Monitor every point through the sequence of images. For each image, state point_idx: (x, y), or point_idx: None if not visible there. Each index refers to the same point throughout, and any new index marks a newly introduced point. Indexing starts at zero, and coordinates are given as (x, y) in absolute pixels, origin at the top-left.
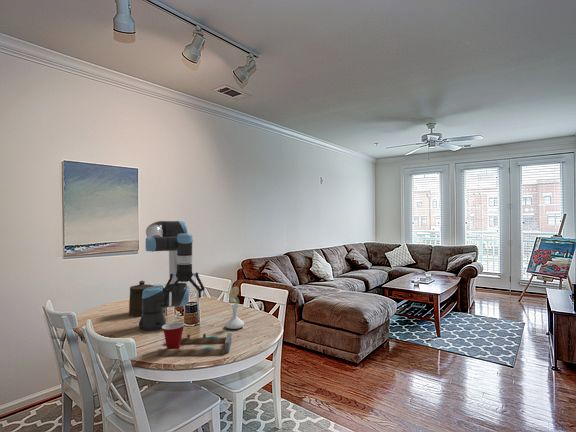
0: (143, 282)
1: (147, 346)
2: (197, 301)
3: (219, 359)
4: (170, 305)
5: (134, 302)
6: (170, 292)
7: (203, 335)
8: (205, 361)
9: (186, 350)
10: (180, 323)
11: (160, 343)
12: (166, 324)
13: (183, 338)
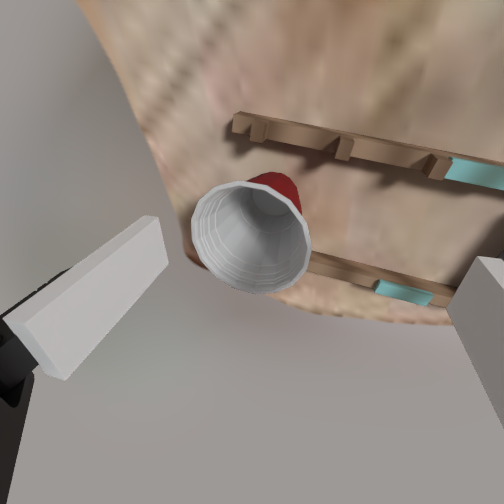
0: None
1: (168, 139)
2: (470, 345)
3: (424, 323)
4: (164, 268)
5: None
6: (23, 335)
7: (429, 177)
8: (375, 319)
9: (320, 273)
10: (286, 203)
11: (211, 114)
12: (205, 200)
13: (315, 143)
